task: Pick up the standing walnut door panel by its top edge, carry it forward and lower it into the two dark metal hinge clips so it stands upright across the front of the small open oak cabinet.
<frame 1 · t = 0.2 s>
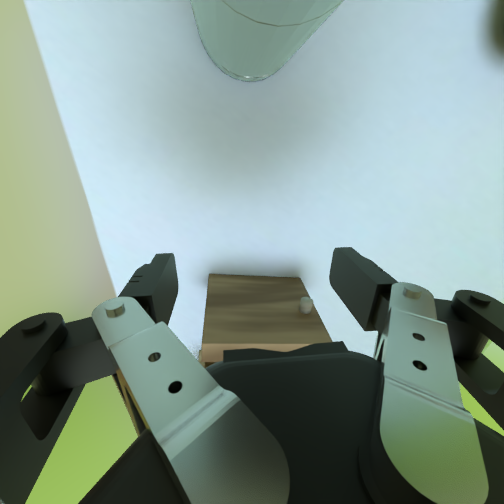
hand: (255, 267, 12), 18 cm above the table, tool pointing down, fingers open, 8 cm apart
door: (254, 283, 34), on the table
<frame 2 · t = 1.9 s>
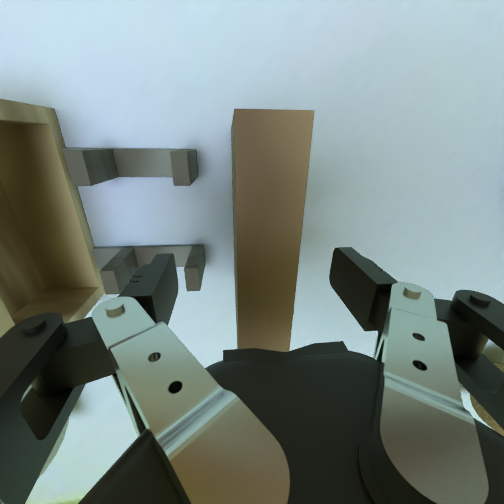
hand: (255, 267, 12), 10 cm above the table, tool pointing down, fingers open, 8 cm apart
door: (247, 211, 21), on the table
cabinet: (49, 214, 20), on the table
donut: (57, 382, 28), on the table
natural sponge: (477, 364, 33), on the table
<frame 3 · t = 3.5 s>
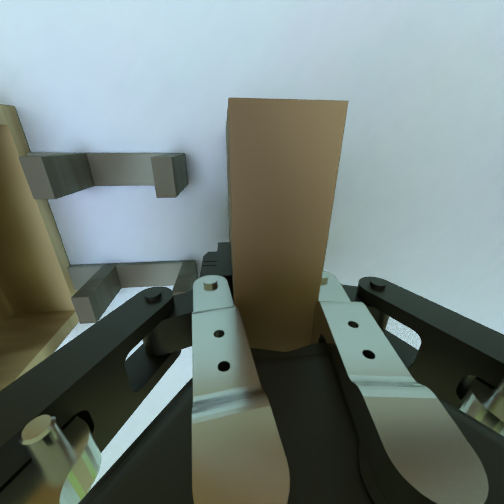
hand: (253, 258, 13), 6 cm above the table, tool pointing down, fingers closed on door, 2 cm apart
door: (245, 223, 18), on the table, touching gripper
cabinet: (15, 229, 17), on the table
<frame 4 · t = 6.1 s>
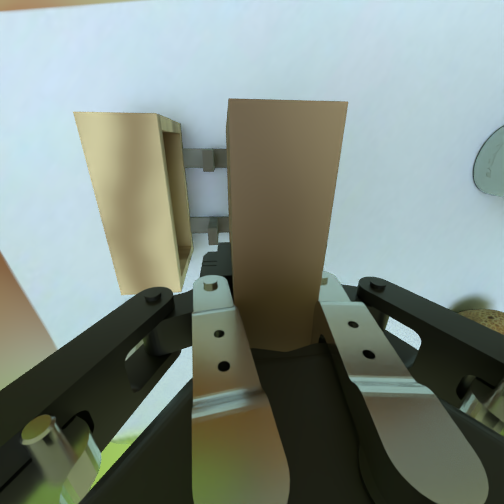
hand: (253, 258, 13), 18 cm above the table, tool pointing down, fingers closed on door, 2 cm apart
door: (245, 223, 18), point 12 cm above the table, touching gripper
cabinet: (164, 193, 29), on the table
natural sponge: (459, 314, 43), on the table
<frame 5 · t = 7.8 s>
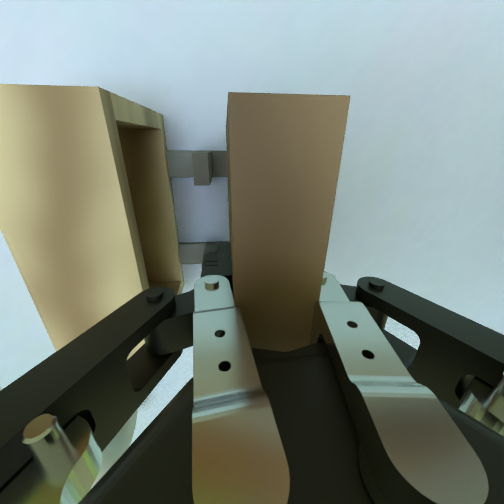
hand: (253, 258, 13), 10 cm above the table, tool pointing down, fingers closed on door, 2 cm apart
door: (245, 222, 18), point 4 cm above the table, touching gripper
cabinet: (142, 212, 21), on the table
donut: (124, 374, 29), on the table
when the fingers open (7 cm above the table, at t = 9.1 s): door drops 2 cm, resting on cabinet.
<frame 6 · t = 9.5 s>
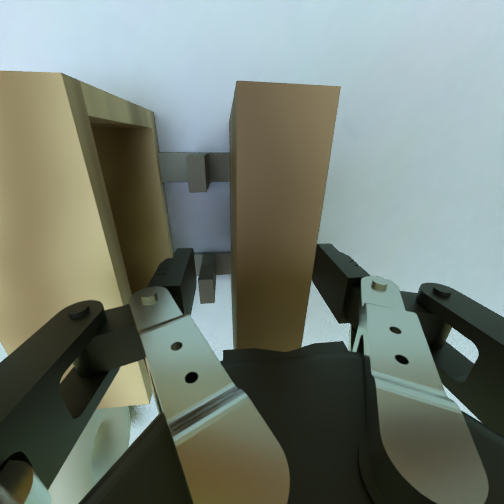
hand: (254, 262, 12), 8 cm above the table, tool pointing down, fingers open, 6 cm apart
door: (245, 214, 19), resting on cabinet
cabinet: (133, 220, 19), on the table
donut: (116, 392, 27), on the table
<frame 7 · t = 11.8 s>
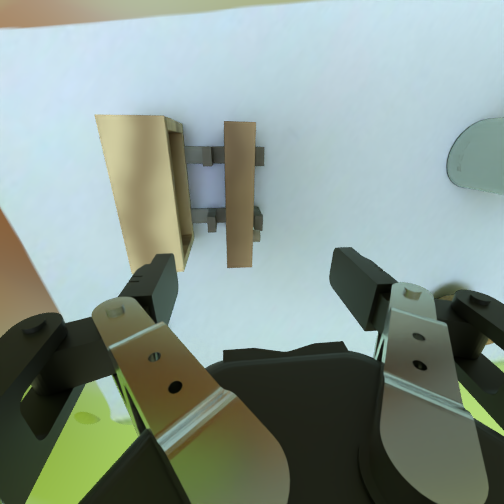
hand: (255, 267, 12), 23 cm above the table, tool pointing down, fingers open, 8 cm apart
door: (234, 183, 32), resting on cabinet
cabinet: (167, 187, 32), on the table
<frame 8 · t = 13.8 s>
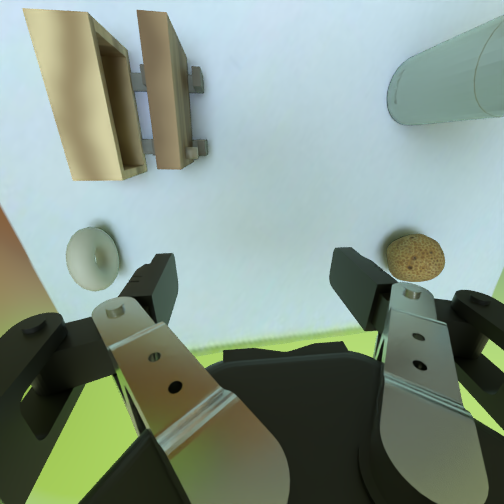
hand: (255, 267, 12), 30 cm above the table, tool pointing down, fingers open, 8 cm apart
door: (181, 112, 34), resting on cabinet
cabinet: (118, 115, 34), on the table
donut: (110, 245, 42), on the table
natural sponge: (395, 246, 48), on the table
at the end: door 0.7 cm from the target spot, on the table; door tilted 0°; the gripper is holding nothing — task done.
